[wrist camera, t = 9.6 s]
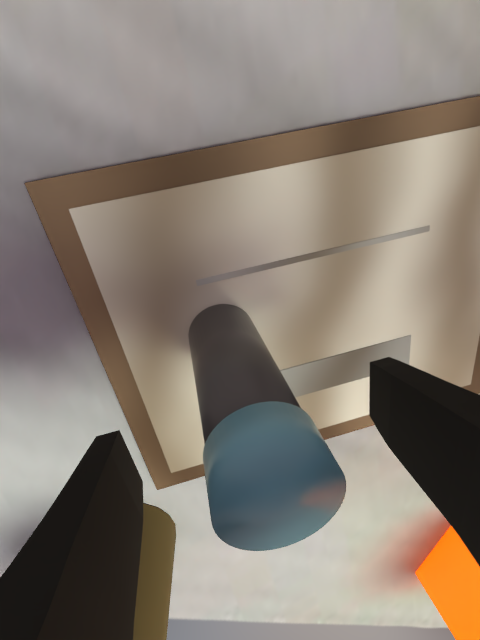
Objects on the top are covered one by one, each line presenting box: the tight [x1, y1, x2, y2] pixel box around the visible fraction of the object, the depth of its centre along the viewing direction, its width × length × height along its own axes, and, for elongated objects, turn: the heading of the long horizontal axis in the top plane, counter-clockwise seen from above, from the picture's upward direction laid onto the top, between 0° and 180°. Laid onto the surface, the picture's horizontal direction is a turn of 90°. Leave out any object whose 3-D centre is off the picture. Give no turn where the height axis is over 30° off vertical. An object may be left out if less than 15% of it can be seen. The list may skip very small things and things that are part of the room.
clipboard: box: [25, 96, 480, 490], centre depth 15 cm, size 20×15×1 cm
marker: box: [188, 304, 346, 551], centre depth 11 cm, size 3×3×8 cm
